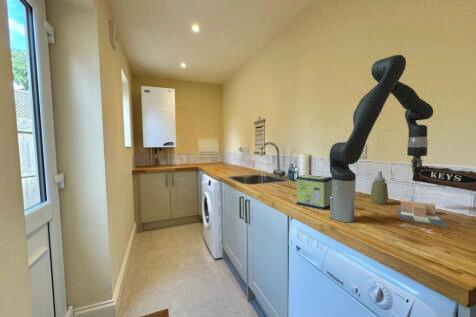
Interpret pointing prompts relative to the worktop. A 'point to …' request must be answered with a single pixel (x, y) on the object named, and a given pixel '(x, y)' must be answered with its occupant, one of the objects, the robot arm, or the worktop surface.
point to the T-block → (418, 208)
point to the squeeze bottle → (379, 190)
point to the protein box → (314, 191)
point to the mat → (422, 218)
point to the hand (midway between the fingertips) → (415, 180)
